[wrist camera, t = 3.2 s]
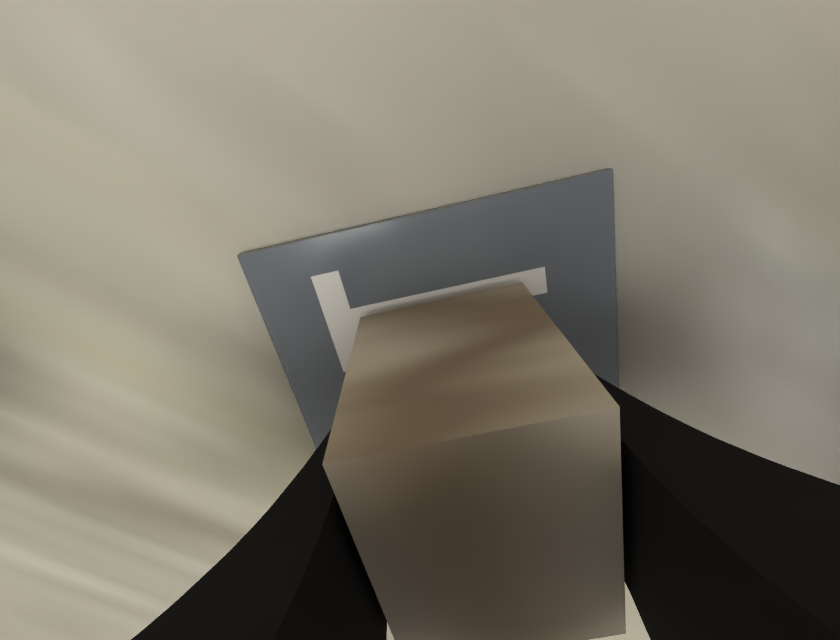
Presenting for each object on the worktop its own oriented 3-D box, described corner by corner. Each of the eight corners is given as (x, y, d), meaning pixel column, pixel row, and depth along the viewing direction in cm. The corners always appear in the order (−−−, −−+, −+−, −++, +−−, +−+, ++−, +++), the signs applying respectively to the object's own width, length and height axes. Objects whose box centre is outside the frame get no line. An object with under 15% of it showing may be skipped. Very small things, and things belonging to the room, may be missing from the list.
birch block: (522, 281, 10) (619, 407, 5) (542, 443, 12) (625, 633, 7) (360, 316, 10) (321, 463, 6) (406, 468, 12) (406, 668, 8)
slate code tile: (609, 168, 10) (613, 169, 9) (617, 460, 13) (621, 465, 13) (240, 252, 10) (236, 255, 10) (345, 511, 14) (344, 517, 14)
